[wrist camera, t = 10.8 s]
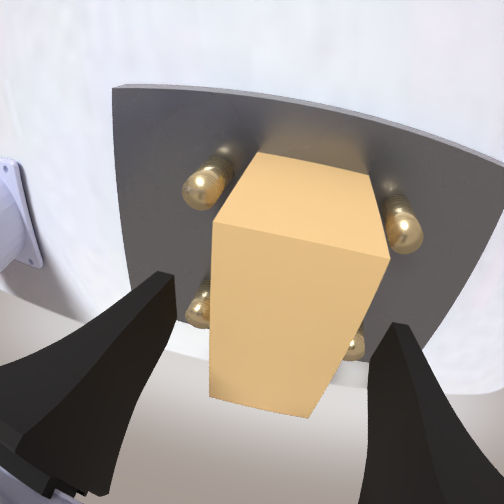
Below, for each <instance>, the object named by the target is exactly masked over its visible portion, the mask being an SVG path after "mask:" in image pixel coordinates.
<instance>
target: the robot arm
mask: <svg viewBox="0 0 504 504" xmlns="http://www.w3.org/2000/svg"><path fill="white" fill-rule="evenodd" d="M13 260H16V261H19V262H21V263H24V264H27V265H29V266H32V267H34V268H37V269H40V268H41V267H42V266H43V260H42V257H41V254H40V251H39V248H38V244H37V241H36V238H35V234H34V231H33V227H32V223H31V220H30V216H29V212H28V208H27V204H26V199H25V195H24V191H23V186H22V181H21V176H20V171H19V167H18V164H17V162H16V161H15V160H10V159H0V273H1V272H2V271H3V270H4V269H5V268H6V267H7V266H8V265H9V264H10V263H11V262H12V261H13ZM176 319H177V306H176V292H175V276H174V275H172V274H168V273H164V272H161V271H157V272H155V273H154V274H152V275H151V276H150V277H148V278H147V279H146V280H145V281H143V282H142V283H141V284H140V285H138V286H137V287H136V288H134V289H133V290H132V291H131V292H129V293H128V294H127V295H126V296H124V297H123V298H122V299H120V300H119V301H118V302H116V303H115V304H114V305H112V306H111V307H110V308H108V309H107V310H106V311H104V312H103V313H101V314H100V315H98V316H97V317H95V318H94V319H93V320H91V321H90V322H88V323H87V324H85V325H84V326H82V327H81V328H79V329H78V330H76V331H74V332H73V333H71V334H69V335H68V336H66V337H64V338H63V339H61V340H59V341H57V342H55V343H53V344H51V345H49V346H47V347H45V348H43V349H41V350H39V351H37V352H35V353H33V354H31V355H28V356H26V357H24V358H21V359H19V360H16V361H14V362H11V363H8V364H6V365H3V366H0V504H84V503H82V502H80V501H78V500H76V499H74V497H75V495H76V492H77V493H79V494H81V495H83V496H86V495H87V493H88V491H89V492H91V493H93V494H95V495H97V496H99V497H100V496H104V495H107V494H109V490H110V485H111V481H112V477H113V473H114V469H115V465H116V462H117V458H118V455H119V451H120V448H121V445H122V442H123V439H124V436H125V433H126V430H127V427H128V424H129V421H130V419H131V416H132V413H133V411H134V408H135V405H136V403H137V401H138V398H139V396H140V394H141V392H142V390H143V388H144V386H145V385H146V383H147V381H148V379H149V377H150V375H151V373H152V371H153V369H154V368H155V366H156V364H157V362H158V360H159V358H160V356H161V354H162V352H163V351H164V349H165V347H166V345H167V343H168V340H169V338H170V335H171V333H172V330H173V328H174V325H175V322H176ZM367 390H368V449H367V459H366V466H365V472H364V479H363V483H362V488H361V493H360V498H359V502H358V504H504V477H503V476H502V475H501V474H500V473H499V472H498V470H497V469H496V468H495V467H494V466H493V465H492V464H491V463H490V461H489V460H488V459H487V458H486V456H485V455H484V454H483V453H482V451H481V450H480V449H479V447H478V446H477V445H476V443H475V442H474V441H473V439H472V438H471V436H470V435H469V433H468V432H467V431H466V429H465V428H464V426H463V424H462V423H461V421H460V420H459V418H458V417H457V415H456V413H455V412H454V410H453V408H452V407H451V405H450V403H449V401H448V400H447V398H446V396H445V394H444V392H443V391H442V389H441V387H440V385H439V383H438V381H437V379H436V377H435V375H434V374H433V372H432V370H431V368H430V366H429V364H428V362H427V360H426V358H425V356H424V354H423V352H422V350H421V348H420V346H419V344H418V342H417V340H416V338H415V336H414V334H413V332H412V330H411V329H410V327H409V325H407V324H401V323H395V322H392V323H391V325H390V327H389V328H388V330H387V332H386V333H385V335H384V337H383V338H382V340H381V342H380V343H379V345H378V347H377V348H376V350H375V352H374V353H373V355H372V356H371V358H370V363H369V373H368V386H367Z"/></svg>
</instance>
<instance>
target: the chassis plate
mask: <svg viewBox="0 0 504 504" xmlns="http://www.w3.org/2000/svg"><path fill="white" fill-rule="evenodd" d="M112 116H113V140H114V157H115V170H116V182H117V192H118V202H119V211H120V219H121V227H122V235H123V242H124V249H125V255H126V261H127V268H128V273H129V279H130V285H131V290H133V289H134V288H136V287H137V286H138V285H140V284H141V283H142V282H143V281H145V280H146V279H147V278H148V277H150V276H151V275H152V274H154V273H155V272H157V271H161V272H164V273H168V274H172V275H174V276H175V292H176V306H177V319H176V320H178V321H181V322H185V323H188V324H191V325H192V326H194V327H196V328H200V329H206V328H207V329H210V287H211V255H212V230H213V220H214V219H215V217H216V216H217V214H218V212H219V211H220V209H221V208H222V206H223V204H224V203H225V201H226V200H227V198H228V197H229V195H230V193H231V192H232V190H233V189H234V187H235V186H236V184H237V183H238V181H239V179H240V178H241V176H242V175H243V173H244V172H245V170H246V169H247V167H248V166H249V164H250V163H251V161H252V159H253V158H254V156H255V155H256V153H257V152H260V153H266V154H272V155H277V156H283V157H288V158H293V159H298V160H303V161H308V162H313V163H318V164H322V165H327V166H331V167H336V168H340V169H345V170H349V171H353V172H357V173H361V174H365V175H369V178H370V181H371V185H372V188H373V192H374V195H375V199H376V202H377V206H378V210H379V214H380V217H381V221H382V225H383V229H384V233H385V238H386V242H387V246H388V251H389V255H390V261H389V264H388V266H387V268H386V271H385V273H384V275H383V278H382V280H381V282H380V284H379V287H378V289H377V291H376V293H375V295H374V298H373V300H372V302H371V304H370V306H369V308H368V310H367V312H366V314H365V316H364V319H363V321H362V323H361V325H360V327H359V329H358V331H357V333H356V335H355V336H354V338H353V340H352V342H351V344H350V346H349V348H348V350H347V352H346V354H345V356H344V357H343V359H342V360H345V361H362V362H368V363H370V358H371V356H372V355H373V353H374V352H375V350H376V348H377V347H378V345H379V343H380V342H381V340H382V338H383V337H384V335H385V333H386V332H387V330H388V328H389V327H390V325H391V323H392V322H395V323H401V324H407V325H409V327H410V329H411V330H412V332H413V334H414V336H415V338H416V340H417V342H418V344H419V346H420V348H421V350H422V349H423V348H424V347H425V345H426V344H427V342H428V341H429V340H430V338H431V337H432V335H433V334H434V332H435V331H436V329H437V328H438V327H439V325H440V324H441V322H442V321H443V319H444V318H445V316H446V315H447V313H448V311H449V310H450V308H451V307H452V305H453V304H454V302H455V300H456V299H457V297H458V295H459V294H460V292H461V290H462V289H463V287H464V285H465V284H466V282H467V280H468V279H469V277H470V275H471V273H472V272H473V270H474V268H475V266H476V264H477V262H478V261H479V259H480V257H481V255H482V253H483V251H484V249H485V247H486V245H487V243H488V241H489V239H490V237H491V235H492V233H493V231H494V229H495V227H496V225H497V223H498V221H499V218H500V216H501V214H502V212H503V209H504V163H503V162H500V161H498V160H496V159H494V158H491V157H489V156H487V155H484V154H482V153H480V152H477V151H475V150H472V149H470V148H467V147H465V146H462V145H460V144H457V143H455V142H452V141H449V140H447V139H444V138H441V137H438V136H435V135H433V134H430V133H427V132H424V131H421V130H418V129H415V128H411V127H408V126H405V125H402V124H399V123H395V122H392V121H388V120H385V119H381V118H378V117H374V116H370V115H367V114H363V113H359V112H355V111H351V110H346V109H342V108H338V107H333V106H329V105H324V104H319V103H314V102H309V101H304V100H299V99H293V98H287V97H282V96H275V95H269V94H262V93H255V92H247V91H239V90H230V89H220V88H209V87H196V86H180V85H154V84H125V85H121V86H118V87H114V88H112Z"/></svg>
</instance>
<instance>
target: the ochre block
mask: <svg viewBox="0 0 504 504" xmlns="http://www.w3.org/2000/svg"><path fill="white" fill-rule="evenodd" d="M389 261H390V255H389V251H388V246H387V242H386V238H385V233H384V229H383V225H382V221H381V217H380V214H379V210H378V206H377V202H376V199H375V195H374V192H373V188H372V185H371V181H370V178H369V175H365V174H361V173H357V172H353V171H349V170H345V169H340V168H336V167H331V166H327V165H322V164H318V163H313V162H308V161H303V160H298V159H293V158H288V157H283V156H277V155H272V154H266V153H260V152H257V153H256V155H255V156H254V158H253V159H252V161H251V163H250V164H249V166H248V167H247V169H246V170H245V172H244V173H243V175H242V176H241V178H240V179H239V181H238V183H237V184H236V186H235V187H234V189H233V190H232V192H231V193H230V195H229V197H228V198H227V200H226V201H225V203H224V204H223V206H222V208H221V209H220V211H219V212H218V214H217V216H216V217H215V219H214V220H213V230H212V255H211V287H210V336H209V397H212V398H216V399H220V400H223V401H228V402H232V403H235V404H240V405H244V406H248V407H253V408H257V409H262V410H266V411H271V412H276V413H281V414H286V415H291V416H297V417H303V418H309V416H310V415H311V413H312V411H313V410H314V408H315V406H316V405H317V403H318V401H319V400H320V398H321V396H322V395H323V393H324V391H325V390H326V388H327V386H328V384H329V383H330V381H331V379H332V377H333V376H334V374H335V372H336V370H337V368H338V367H339V365H340V363H341V361H342V359H343V357H344V356H345V354H346V352H347V350H348V348H349V346H350V344H351V342H352V340H353V338H354V336H355V335H356V333H357V331H358V329H359V327H360V325H361V323H362V321H363V319H364V316H365V314H366V312H367V310H368V308H369V306H370V304H371V302H372V300H373V298H374V295H375V293H376V291H377V289H378V287H379V284H380V282H381V280H382V278H383V275H384V273H385V271H386V268H387V266H388V264H389Z"/></svg>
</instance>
